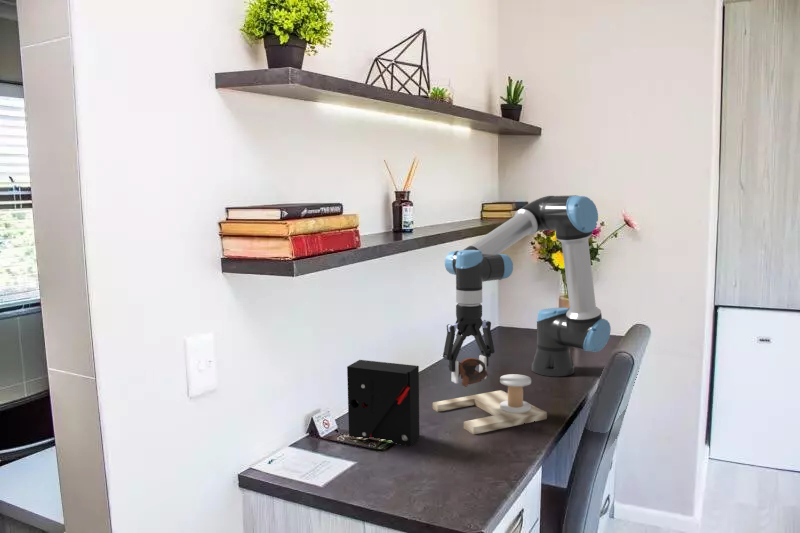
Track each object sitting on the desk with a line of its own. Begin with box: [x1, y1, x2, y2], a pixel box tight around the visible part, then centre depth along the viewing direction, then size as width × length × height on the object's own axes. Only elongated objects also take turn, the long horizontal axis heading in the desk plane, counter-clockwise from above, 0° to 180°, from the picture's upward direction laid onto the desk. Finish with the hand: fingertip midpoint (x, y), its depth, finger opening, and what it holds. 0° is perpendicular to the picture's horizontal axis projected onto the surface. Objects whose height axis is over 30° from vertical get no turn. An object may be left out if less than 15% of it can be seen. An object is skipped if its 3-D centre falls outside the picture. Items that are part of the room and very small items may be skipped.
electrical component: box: [346, 359, 420, 447], centre depth 169 cm, size 18×10×20 cm, turn 66°
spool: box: [499, 373, 532, 414], centre depth 185 cm, size 9×9×9 cm
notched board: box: [432, 389, 548, 435], centre depth 187 cm, size 25×23×2 cm
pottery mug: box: [448, 357, 489, 388], centre depth 183 cm, size 12×10×8 cm
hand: (469, 379), depth 184 cm, fingers closed on pottery mug, 9 cm apart
